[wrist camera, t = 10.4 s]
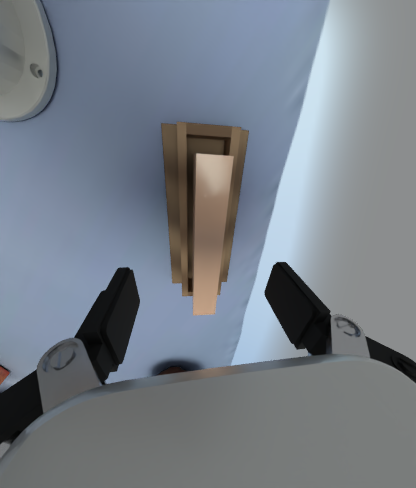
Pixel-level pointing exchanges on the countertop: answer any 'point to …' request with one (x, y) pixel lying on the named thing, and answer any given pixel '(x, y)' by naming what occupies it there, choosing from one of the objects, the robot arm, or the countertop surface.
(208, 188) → the clay strip
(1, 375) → the cracker box
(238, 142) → the slot rack
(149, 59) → the countertop surface
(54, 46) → the robot arm
